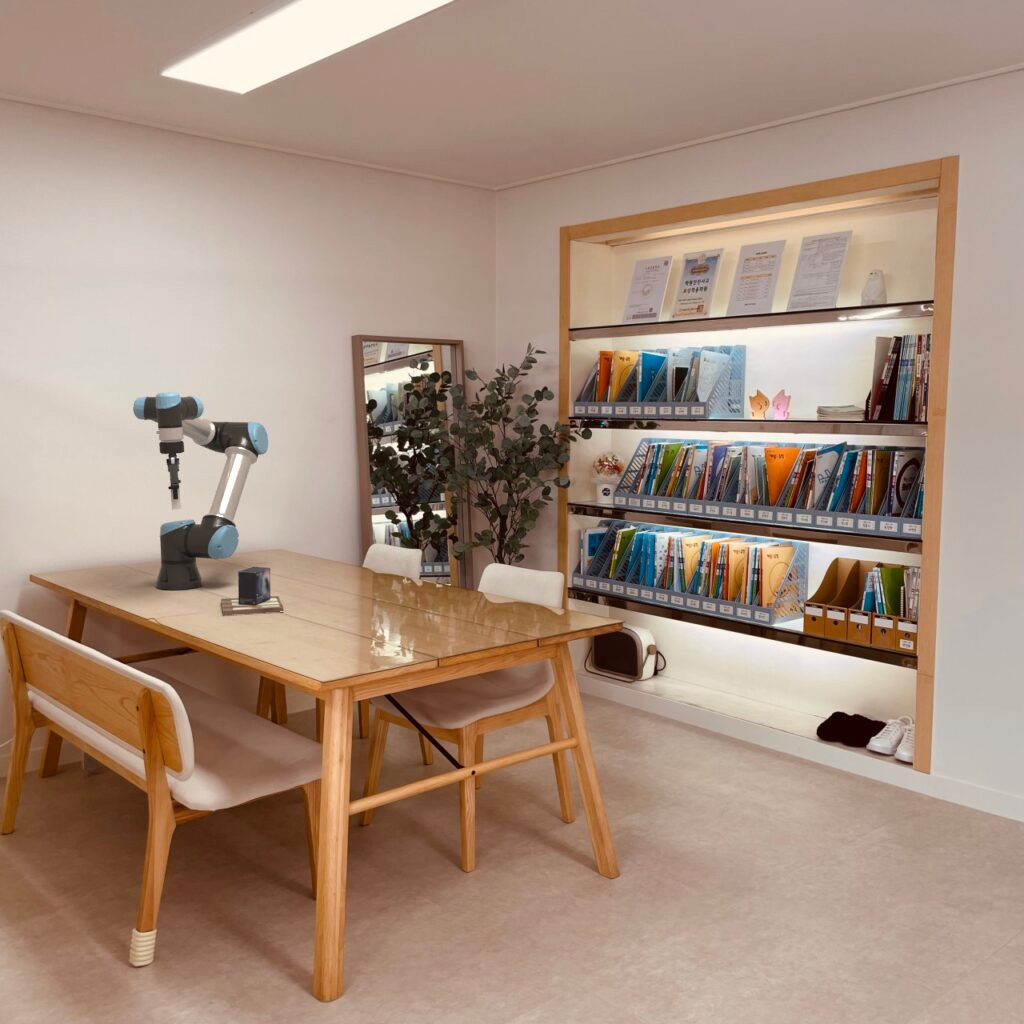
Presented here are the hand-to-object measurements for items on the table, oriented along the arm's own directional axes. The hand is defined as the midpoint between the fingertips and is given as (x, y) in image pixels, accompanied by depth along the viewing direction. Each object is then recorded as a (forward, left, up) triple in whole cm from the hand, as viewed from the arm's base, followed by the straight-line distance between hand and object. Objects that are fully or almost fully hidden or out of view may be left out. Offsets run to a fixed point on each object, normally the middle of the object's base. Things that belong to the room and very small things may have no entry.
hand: (176, 506), depth 340 cm
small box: (+20, +23, -29) cm, 42 cm away
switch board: (+20, +22, -31) cm, 43 cm away
